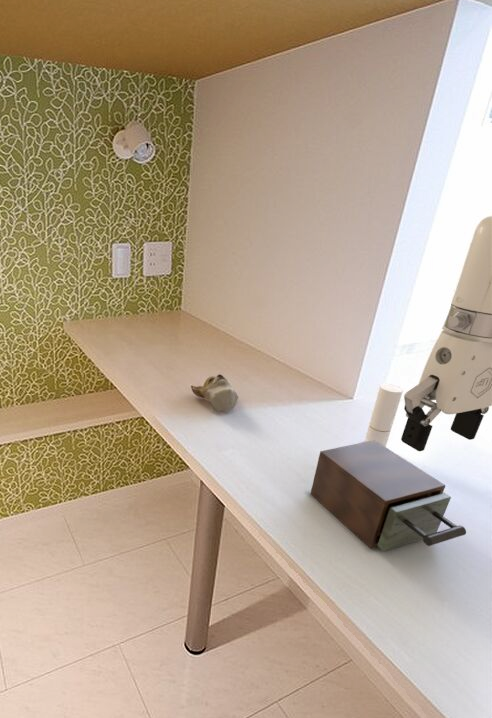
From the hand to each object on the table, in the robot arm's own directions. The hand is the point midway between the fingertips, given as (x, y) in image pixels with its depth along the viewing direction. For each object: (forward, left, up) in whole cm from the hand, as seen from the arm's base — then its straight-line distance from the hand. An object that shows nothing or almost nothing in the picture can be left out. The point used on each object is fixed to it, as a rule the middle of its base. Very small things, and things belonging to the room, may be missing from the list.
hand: (437, 440), depth 61 cm
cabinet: (-2, -9, -20) cm, 22 cm away
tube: (-20, -25, -21) cm, 38 cm away
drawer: (-2, -4, -20) cm, 20 cm away
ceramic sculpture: (+3, -56, -21) cm, 59 cm away
